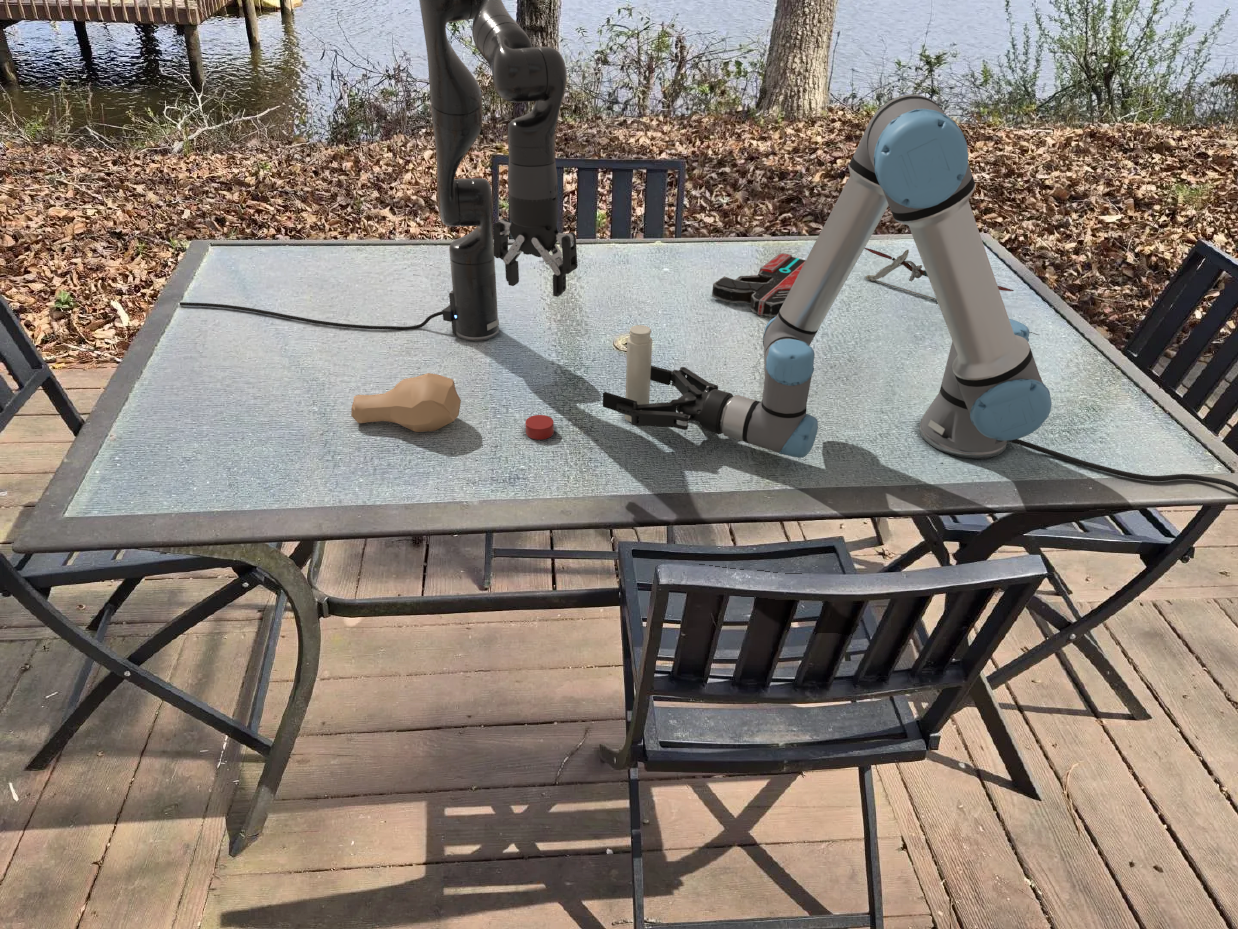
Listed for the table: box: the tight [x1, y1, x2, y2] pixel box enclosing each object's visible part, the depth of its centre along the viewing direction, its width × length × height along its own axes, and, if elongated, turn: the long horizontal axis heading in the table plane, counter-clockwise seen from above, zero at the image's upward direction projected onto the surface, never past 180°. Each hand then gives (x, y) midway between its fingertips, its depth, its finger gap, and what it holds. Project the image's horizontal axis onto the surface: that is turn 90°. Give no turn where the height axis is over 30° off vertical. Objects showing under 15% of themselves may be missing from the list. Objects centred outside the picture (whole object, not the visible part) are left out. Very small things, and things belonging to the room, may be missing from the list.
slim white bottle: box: [624, 324, 653, 423], centre depth 159 cm, size 4×4×18 cm
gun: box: [711, 252, 806, 318], centre depth 215 cm, size 4×31×19 cm
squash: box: [350, 372, 462, 433], centre depth 158 cm, size 11×20×9 cm, turn 90°
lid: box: [525, 414, 555, 441], centre depth 158 cm, size 5×5×2 cm
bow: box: [864, 247, 1015, 301], centre depth 212 cm, size 39×2×10 cm, turn 47°
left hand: (535, 289), depth 143 cm, fingers open, 8 cm apart
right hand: (622, 383), depth 162 cm, fingers open, 13 cm apart
